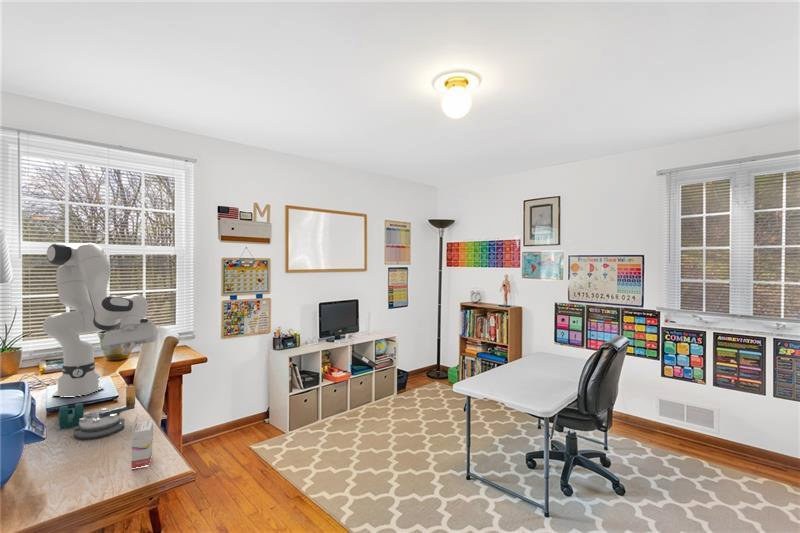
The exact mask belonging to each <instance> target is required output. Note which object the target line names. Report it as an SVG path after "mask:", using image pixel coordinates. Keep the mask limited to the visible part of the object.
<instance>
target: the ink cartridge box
mask: <svg viewBox="0 0 800 533" xmlns="http://www.w3.org/2000/svg"><path fill="white" fill-rule="evenodd" d="M138 416H139V413H136V415H135V417H134V419H133V421H132V429H131V468H136V467H141V466H145V465H149V463H150V464H151V461H152V458H151V456H152V457H153V438H154V437H153V434H154V420H152V419H151V420H144V421H138ZM150 460H151V461H150ZM149 466H150V465H149Z"/></svg>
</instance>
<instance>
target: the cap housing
mask: <svg viewBox="0 0 800 533" xmlns="http://www.w3.org/2000/svg"><path fill="white" fill-rule="evenodd" d="M125 422H126V421H125V419H124V418H122V417H120V422H119V423H118V424H117V425H115V426H113V427H111V428H108V429H104V430H100V431H94V432H83V431H80V430H79V426H77V427H74V429H73V438H74V439H75V440H78V441H91V440H98V439H102V438H107V437H110V436H113V435H116V434H118V433H120V432H121V431H123V430H124V428H125V424H126V423H125Z"/></svg>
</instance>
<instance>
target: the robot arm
mask: <svg viewBox="0 0 800 533" xmlns="http://www.w3.org/2000/svg"><path fill="white" fill-rule="evenodd" d="M46 258H47V261H48V262H49V263H50V264H51V265H55V266H58V268H57V269H56V275H55V278H56V279H55V280H56V281H55V282H56V288H57V294H58V298H59V299H58V300H59V302H60V303H61V305H63V306H66V307H68V308H70V309H71V308H72V309H73V310H74V311H67V312H59V313H54V314H51V315H48V316H47V317H46V318H45V319H44V321H43V324H42V330H43V332H44V333H45V334H46V335H47V336H48V337H50V338H53V340H56V342H58V343H59V345H60V346H61V349H62V357H63V365H62V366H61V367H62V368H61V372H62V374H61V376H59V378H57V390H56V391H54V393H53V394H52V396H63V397H64V396H79V395H85V394H89V393H92V392H95V391H97V390H100V389H103V388H104V389H105V387H104V386H103V384H102V383H100V379H99V378H100V375H99V373H98V371H96V370H95V369H96V362H95V361H94V360H95V347H94V345H93V344H92V343H90V342H89V341H88V342H87V341H85V340H81V339H80V335H86V334H94V333H99V332H103V331H105V333H104V336H103V338H102V341H101V343H100V345H101V347H102V348H103V349H104V350H106V351H108V350H112V349H113V350H114V349H119V348H121V349H122V351H121V353H122V355H129V354H132V352H133V350H134V349H135V348H136V347H137V345H143V344H149V343H154V342H155V341H156V340H157V337H158V336H157V334H158V333H157V330H156V329H157V325H156V324H155V322H154V321H153V319H150V318H146V317H147V316H148V310H149V304H148V300H147V298H146V297H145V296H142V295H139V294H132V295H129V296H119V295H108V294H107V291H108V290H107V289H108V284H109V280H110V277H111V273H112V270H111V264H110V262H109V260H108V258H107V256H106V254H105V252H104V249H103V248H102V247H100V246H99V245H97V244H96V243H92V242H86V243H63V242H56V243H52V244H50V245H49V247H48V248H47V251H46ZM127 347H128V348H127ZM97 392H98V391H97ZM95 393H96V392H95ZM92 394H93V393H92ZM89 395H90V394H89ZM52 396H51V397H52ZM85 396H86V395H85Z"/></svg>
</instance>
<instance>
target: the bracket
mask: <svg viewBox="0 0 800 533" xmlns="http://www.w3.org/2000/svg"><path fill="white" fill-rule="evenodd" d="M84 411H85V410H84V403H83V402H79V403H74V407H69V406H68V405H61V406H59V411H58V425H59V430H60V431H62V430H67V429H71V428H76V427H78V426H79V419H81V418H82V417H83V414H85V413H84Z"/></svg>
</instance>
